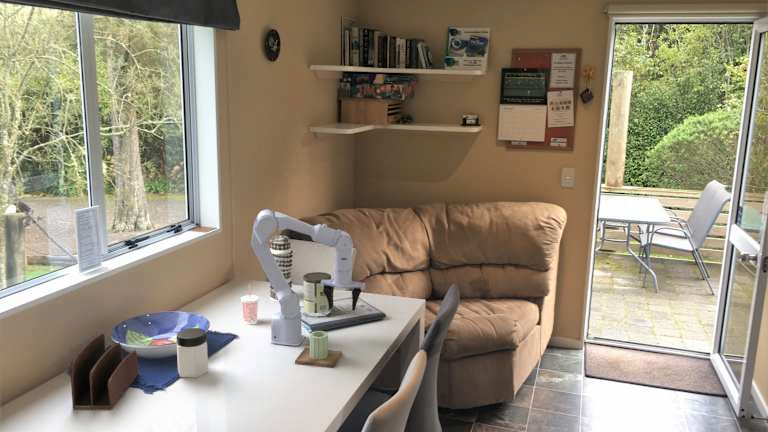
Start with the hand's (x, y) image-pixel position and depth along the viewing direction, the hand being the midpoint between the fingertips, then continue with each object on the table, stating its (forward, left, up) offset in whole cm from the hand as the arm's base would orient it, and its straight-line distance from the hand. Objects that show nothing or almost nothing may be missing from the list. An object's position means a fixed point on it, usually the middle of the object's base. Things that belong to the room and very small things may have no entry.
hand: (342, 308), depth 204 cm
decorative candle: (-33, +32, -11) cm, 47 cm away
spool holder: (-3, -17, -10) cm, 20 cm away
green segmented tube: (-3, -17, -9) cm, 20 cm away
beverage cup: (-35, +6, -11) cm, 37 cm away
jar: (-36, -34, -11) cm, 51 cm away
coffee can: (-15, +21, -11) cm, 28 cm away
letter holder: (-53, -50, -11) cm, 73 cm away
